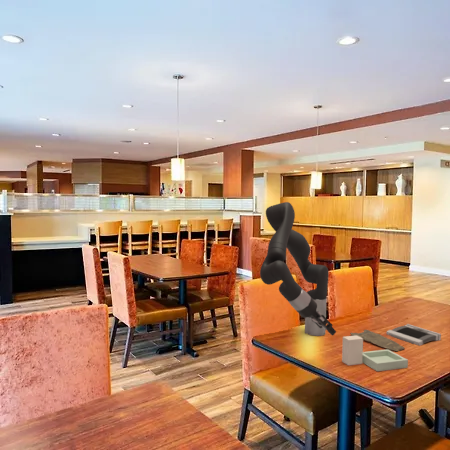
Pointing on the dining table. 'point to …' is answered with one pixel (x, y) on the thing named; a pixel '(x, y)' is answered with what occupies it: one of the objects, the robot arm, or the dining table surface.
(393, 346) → the stone tool
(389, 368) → the pale green tray
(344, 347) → the gray block
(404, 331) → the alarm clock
